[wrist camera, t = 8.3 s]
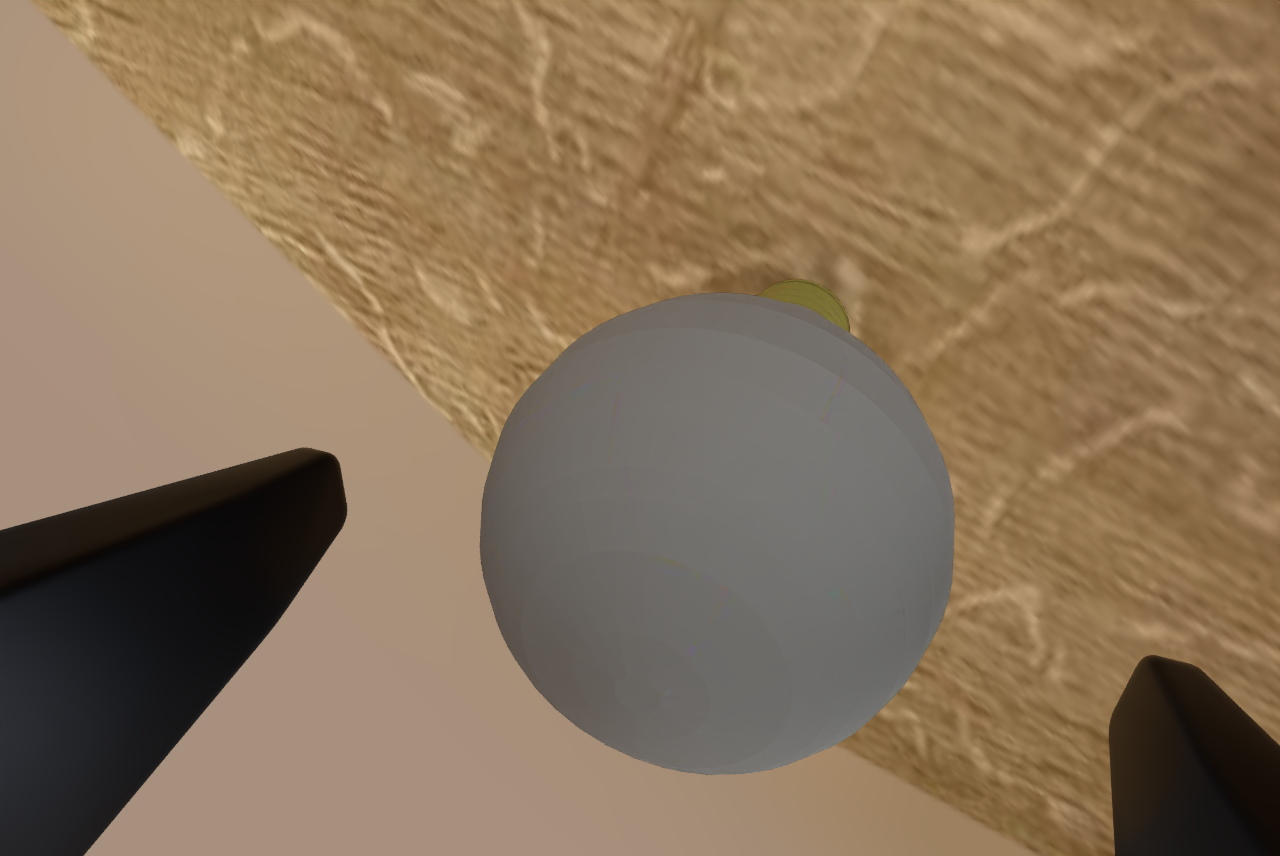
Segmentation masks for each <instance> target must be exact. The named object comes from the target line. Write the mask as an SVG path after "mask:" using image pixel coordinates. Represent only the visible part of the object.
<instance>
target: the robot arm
mask: <svg viewBox="0 0 1280 856" xmlns="http://www.w3.org/2000/svg"><path fill="white" fill-rule="evenodd" d="M346 516H347V503H346V497H345V491H344V486H343V480H342V474H341V468H340V464H339V461H338V460H337V458H336V457H335V456H334V455H332V454H331V453H328V452H324V451H320V450H316V449H312V448H298V449H295V450H291V451H287V452H284V453H280V454H276V455H273V456H269V457H265V458H262V459H258V460H254V461H251V462H247V463H244V464H240V465H236V466H233V467H229V468H226V469H222V470H218V471H214V472H211V473H207V474H204V475H200V476H196V477H193V478H189V479H185V480H182V481H178V482H174V483H171V484H167V485H164V486H160V487H157V488H153V489H149V490H145V491H142V492H138V493H134V494H131V495H127V496H123V497H120V498H116V499H113V500H109V501H105V502H102V503H98V504H95V505H91V506H88V507H84V508H80V509H76V510H73V511H69V512H65V513H62V514H58V515H55V516H51V517H47V518H44V519H40V520H36V521H33V522H29V523H26V524H22V525H18V526H14V527H11V528H7V529H3V530H0V856H84V855H85V853H86V852H87V851H88V849H90V847H91V846H92V845H93V844H94V843H95V841H96V840H97V839H98V838H99V836H100V835H101V834H102V833H103V832H104V830H105V829H106V828H107V827H108V826H109V824H110V823H111V822H112V821H113V820H114V819H115V817H116V816H117V815H118V814H119V813H120V811H121V810H122V809H123V808H124V807H125V805H126V804H127V803H128V802H129V801H130V799H131V798H132V797H133V796H134V795H135V793H136V792H137V791H138V790H139V788H140V787H141V786H142V785H143V784H144V783H145V781H146V780H147V779H148V778H149V776H150V775H151V774H152V773H153V772H154V770H155V769H156V768H157V767H158V766H159V764H160V763H161V762H162V761H163V760H164V758H165V757H166V756H167V755H168V754H169V752H170V751H171V750H172V749H173V748H174V747H175V745H176V744H177V743H178V742H179V740H180V739H181V738H182V737H183V736H184V735H185V733H186V732H187V731H188V730H189V729H190V727H191V726H192V725H193V724H194V723H195V721H196V720H197V719H198V718H199V717H200V715H201V714H202V713H203V712H204V711H205V709H206V708H207V707H208V706H209V705H210V703H211V702H212V701H213V700H214V699H215V697H216V696H217V695H218V694H219V693H220V691H221V690H222V689H223V688H224V686H225V685H226V684H227V683H228V682H229V681H230V679H231V678H232V677H233V676H234V674H235V673H236V672H237V671H238V670H239V668H240V667H241V666H242V665H243V664H244V663H245V661H246V660H247V659H248V658H249V657H250V655H251V654H252V653H253V652H254V651H255V649H256V648H257V647H258V646H259V644H260V643H261V642H262V641H263V640H264V639H265V637H266V636H267V635H268V634H269V632H270V631H271V630H272V628H273V627H274V626H275V625H276V623H277V622H278V621H279V619H280V618H281V616H282V615H283V613H284V612H285V611H286V609H287V608H288V607H289V605H290V604H291V602H292V601H293V599H294V598H295V596H296V595H297V593H298V592H299V590H300V589H301V588H302V586H303V585H304V583H305V582H306V580H307V579H308V577H309V576H310V574H311V573H312V571H313V570H314V568H315V567H316V566H317V564H318V562H319V561H320V560H321V558H322V557H323V555H324V554H325V552H326V551H327V549H328V548H329V546H330V545H331V543H332V542H333V541H334V539H335V538H336V536H337V535H338V533H339V532H340V530H341V529H342V527H343V525H344V523H345V519H346ZM1109 750H1110V769H1111V787H1112V806H1113V824H1114V843H1115V856H1280V745H1278V744H1277V743H1276V742H1275V741H1274V740H1273V739H1272V738H1271V737H1270V736H1269V735H1268V734H1267V733H1266V732H1265V731H1264V730H1263V729H1262V728H1261V727H1260V726H1259V725H1258V724H1257V723H1256V722H1255V721H1254V720H1253V719H1252V718H1251V717H1250V716H1249V715H1248V714H1247V713H1246V712H1244V711H1243V710H1242V709H1241V708H1240V707H1239V706H1238V705H1237V704H1236V703H1235V702H1234V701H1233V700H1232V699H1231V698H1230V697H1229V696H1228V695H1227V694H1226V693H1225V692H1224V691H1223V690H1222V689H1221V688H1220V687H1219V686H1218V685H1217V684H1216V683H1215V682H1214V681H1213V680H1211V679H1210V678H1209V677H1208V676H1207V675H1206V674H1205V673H1204V672H1203V671H1202V670H1201V669H1199V668H1198V667H1196V666H1194V665H1192V664H1189V663H1185V662H1181V661H1177V660H1173V659H1169V658H1164V657H1160V656H1156V655H1150V656H1146V657H1144V658H1143V659H1142V660H1141V661H1140V662H1139V663H1138V665H1137V666H1136V668H1135V670H1134V672H1133V674H1132V676H1131V678H1130V680H1129V682H1128V684H1127V686H1126V688H1125V690H1124V692H1123V694H1122V695H1121V697H1120V699H1119V701H1118V703H1117V705H1116V707H1115V709H1114V711H1113V713H1112V717H1111V720H1110V726H1109Z"/></svg>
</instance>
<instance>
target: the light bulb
mask: <svg viewBox="0 0 1280 856" xmlns="http://www.w3.org/2000/svg"><path fill="white" fill-rule="evenodd" d="M954 524H955V514H954V501H953V493H952V488H951V483H950V478H949V474H948V471H947V468H946V465H945V462H944V459H943V456H942V454H941V451H940V449H939V447H938V445H937V443H936V440H935V438H934V436H933V434H932V432H931V430H930V428H929V426H928V424H927V422H926V420H925V418H924V416H923V414H922V412H921V410H920V409H919V407H918V405H917V404H916V402H915V400H914V399H913V397H912V395H911V394H910V392H909V391H908V389H907V388H906V387H905V385H904V384H903V383H902V381H901V380H900V379H899V377H898V376H897V375H896V374H895V373H894V372H893V370H892V369H891V368H890V367H889V366H888V365H887V364H886V363H885V362H884V361H883V360H882V359H881V358H880V357H879V356H878V355H877V354H876V353H875V352H873V351H872V350H871V349H870V348H869V347H868V346H867V345H866V344H864V343H863V342H861V341H860V340H859V339H857V338H856V337H854V336H853V335H852V334H850V326H849V320H848V316H847V314H846V311H845V308H844V307H843V305H842V304H841V302H840V301H839V299H838V298H837V297H836V296H835V295H834V294H833V293H832V292H831V291H829V290H828V289H826V288H825V287H823V286H821V285H819V284H817V283H815V282H813V281H808V280H803V279H791V280H786V281H782V282H779V283H777V284H774V285H772V286H770V287H769V288H767V289H765V290H764V291H763V292H762V293H761V294H759V295H758V296H754V295H747V294H737V293H700V294H693V295H685V296H679V297H675V298H671V299H667V300H663V301H660V302H657V303H654V304H651V305H648V306H645V307H642V308H639V309H636V310H633V311H630V312H627V313H625V314H622V315H619V316H617V317H614V318H612V319H610V320H608V321H606V322H604V323H602V324H600V325H598V326H597V327H595V328H593V329H592V330H590V331H589V332H587V333H586V334H584V335H582V336H581V337H580V338H579V339H577V340H576V341H575V342H574V343H572V344H571V345H570V346H569V347H568V348H567V349H566V350H565V351H564V352H563V353H562V354H561V355H560V356H559V357H558V358H557V359H556V360H555V361H554V362H553V363H552V364H551V365H550V366H549V367H548V368H547V369H546V370H545V371H544V372H543V373H542V374H541V375H540V377H539V378H538V379H537V380H536V381H535V382H534V383H533V384H532V385H531V386H530V387H529V388H528V389H527V390H526V392H525V393H524V394H523V396H522V397H521V398H520V400H519V401H518V402H517V403H516V405H515V407H514V408H513V410H512V412H511V414H510V415H509V417H508V419H507V421H506V423H505V426H504V428H503V430H502V433H501V435H500V438H499V441H498V444H497V447H496V450H495V454H494V457H493V460H492V463H491V466H490V469H489V473H488V476H487V480H486V483H485V487H484V493H483V499H482V512H481V532H480V555H481V565H482V571H483V577H484V581H485V585H486V588H487V592H488V595H489V598H490V602H491V605H492V608H493V611H494V615H495V618H496V621H497V623H498V626H499V629H500V631H501V634H502V636H503V638H504V640H505V642H506V644H507V646H508V648H509V650H510V651H511V653H512V655H513V656H514V658H515V660H516V661H517V662H518V664H519V666H520V667H521V668H522V670H523V671H524V672H525V674H526V675H527V677H528V678H529V680H530V681H531V682H532V684H533V685H534V687H535V688H536V689H537V690H538V691H539V692H540V693H541V694H542V695H543V696H544V697H545V698H546V700H547V701H548V702H549V703H550V704H551V705H552V706H553V707H554V708H555V709H556V710H557V711H559V712H560V713H561V714H562V715H564V716H565V717H566V718H567V719H568V720H570V721H571V722H572V723H573V724H575V725H576V726H577V727H578V728H580V729H581V730H583V731H584V732H586V733H588V734H589V735H591V736H592V737H594V738H596V739H597V740H599V741H600V742H602V743H604V744H605V745H607V746H609V747H611V748H614V749H616V750H618V751H620V752H622V753H624V754H626V755H629V756H631V757H633V758H635V759H638V760H642V761H645V762H648V763H651V764H654V765H657V766H660V767H663V768H668V769H673V770H677V771H682V772H688V773H697V774H706V775H709V774H710V775H712V774H713V775H714V774H744V773H753V772H760V771H765V770H770V769H774V768H778V767H781V766H785V765H788V764H791V763H793V762H796V761H798V760H800V759H803V758H805V757H808V756H810V755H813V754H815V753H818V752H820V751H823V750H825V749H828V748H830V747H832V746H834V745H836V744H838V743H839V742H841V741H843V740H845V739H846V738H848V737H849V736H851V735H852V734H854V733H855V732H856V731H858V730H859V729H860V728H861V727H863V726H864V725H865V724H866V723H867V722H868V721H869V720H870V719H871V718H873V717H874V716H875V715H876V714H877V713H878V712H879V711H880V710H881V709H882V708H883V707H884V706H885V705H886V704H887V703H888V702H889V701H890V700H891V699H892V698H893V697H894V696H895V695H896V694H897V693H898V692H899V690H900V689H901V688H902V687H903V686H904V685H905V683H906V682H907V680H908V679H909V677H910V676H911V674H912V673H913V671H914V670H915V668H916V666H917V665H918V663H919V661H920V659H921V658H922V656H923V654H924V652H925V651H926V649H927V647H928V646H929V644H930V642H931V640H932V639H933V637H934V635H935V633H936V631H937V629H938V627H939V625H940V623H941V621H942V618H943V615H944V612H945V609H946V606H947V603H948V600H949V595H950V590H951V584H952V575H953V553H954Z"/></svg>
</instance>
